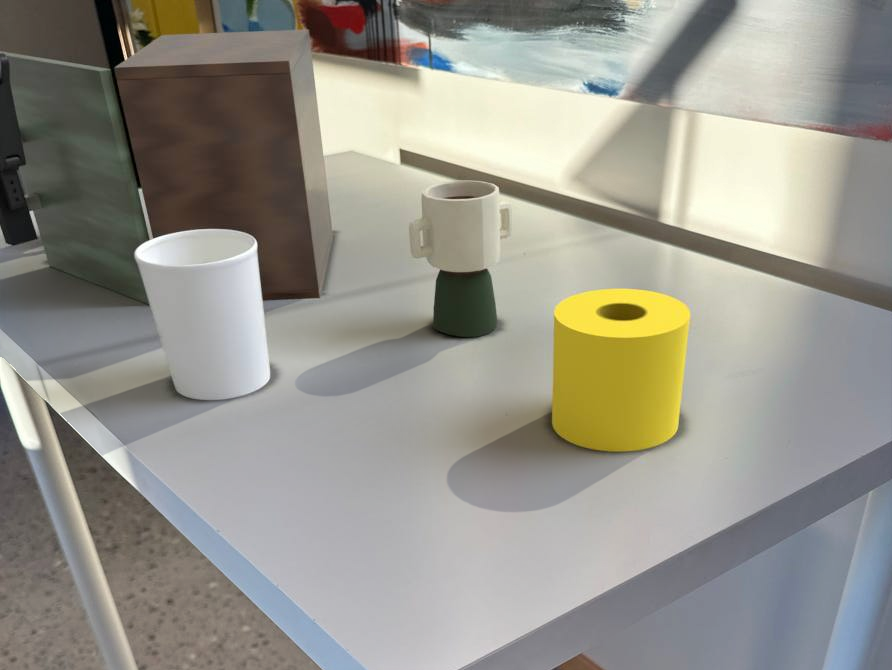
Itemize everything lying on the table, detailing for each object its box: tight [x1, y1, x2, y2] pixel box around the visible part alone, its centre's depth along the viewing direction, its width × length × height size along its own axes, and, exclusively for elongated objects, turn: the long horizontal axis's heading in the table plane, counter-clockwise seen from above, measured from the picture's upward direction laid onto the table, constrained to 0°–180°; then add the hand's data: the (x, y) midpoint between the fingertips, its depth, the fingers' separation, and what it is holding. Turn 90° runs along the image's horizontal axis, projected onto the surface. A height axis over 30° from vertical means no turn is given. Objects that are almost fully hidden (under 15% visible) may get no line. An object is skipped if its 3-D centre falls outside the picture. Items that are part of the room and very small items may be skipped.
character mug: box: [408, 179, 513, 338], centre depth 90 cm, size 11×7×13 cm, turn 123°
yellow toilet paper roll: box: [551, 288, 691, 453], centre depth 75 cm, size 10×10×9 cm
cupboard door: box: [0, 50, 151, 306], centre depth 100 cm, size 6×22×22 cm, turn 48°
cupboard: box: [113, 28, 334, 302], centre depth 104 cm, size 16×22×22 cm
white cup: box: [134, 229, 271, 401], centre depth 82 cm, size 10×10×12 cm
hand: (21, 240), depth 98 cm, fingers closed
